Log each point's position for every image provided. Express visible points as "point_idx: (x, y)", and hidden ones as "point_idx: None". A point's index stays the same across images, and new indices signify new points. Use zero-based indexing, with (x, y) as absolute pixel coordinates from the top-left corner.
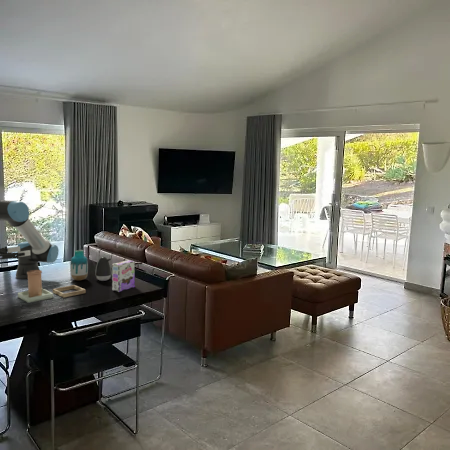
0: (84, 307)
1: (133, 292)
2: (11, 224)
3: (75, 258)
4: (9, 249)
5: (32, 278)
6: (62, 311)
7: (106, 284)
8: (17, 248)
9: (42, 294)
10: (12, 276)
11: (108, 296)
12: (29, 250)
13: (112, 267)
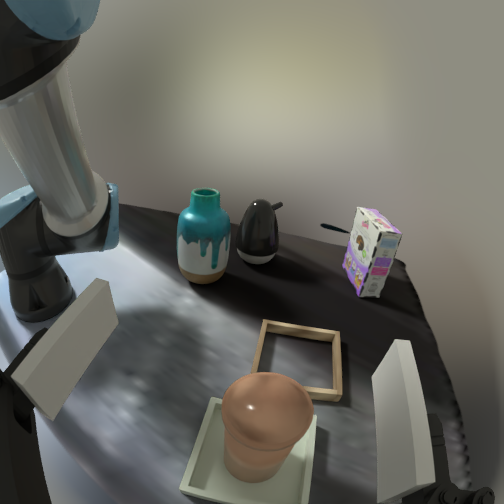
0: (457, 402)
1: (397, 287)
2: None
3: (207, 220)
4: (42, 384)
5: (289, 448)
6: (462, 458)
7: (298, 276)
8: (96, 315)
9: None
10: (4, 310)
11: (400, 326)
12: (407, 345)
13: (379, 241)
